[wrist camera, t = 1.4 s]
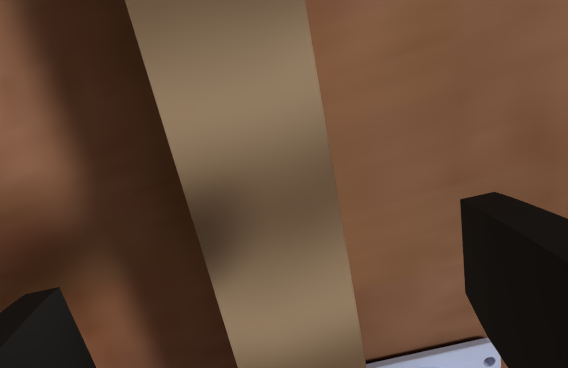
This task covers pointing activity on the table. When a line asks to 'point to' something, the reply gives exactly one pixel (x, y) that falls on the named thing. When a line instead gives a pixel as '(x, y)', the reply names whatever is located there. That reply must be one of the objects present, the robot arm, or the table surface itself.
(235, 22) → the walnut rail
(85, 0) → the table surface
